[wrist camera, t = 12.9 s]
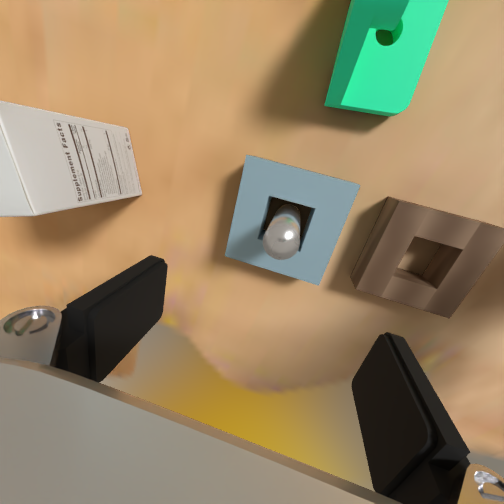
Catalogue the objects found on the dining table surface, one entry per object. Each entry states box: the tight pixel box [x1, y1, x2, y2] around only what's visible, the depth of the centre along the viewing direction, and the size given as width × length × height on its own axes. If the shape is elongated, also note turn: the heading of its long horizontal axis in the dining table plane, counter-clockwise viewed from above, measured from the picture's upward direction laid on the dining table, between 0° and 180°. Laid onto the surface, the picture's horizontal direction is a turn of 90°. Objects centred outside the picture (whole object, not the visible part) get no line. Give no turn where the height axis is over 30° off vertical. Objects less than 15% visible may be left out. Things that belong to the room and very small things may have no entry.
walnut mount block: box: [350, 197, 504, 318], centre depth 27 cm, size 11×11×4 cm
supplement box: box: [0, 101, 142, 217], centre depth 26 cm, size 9×9×15 cm
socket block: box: [225, 155, 360, 285], centre depth 28 cm, size 12×12×4 cm
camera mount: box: [324, 0, 449, 116], centre depth 18 cm, size 12×8×10 cm, turn 169°
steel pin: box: [263, 204, 300, 260], centre depth 25 cm, size 3×3×11 cm
